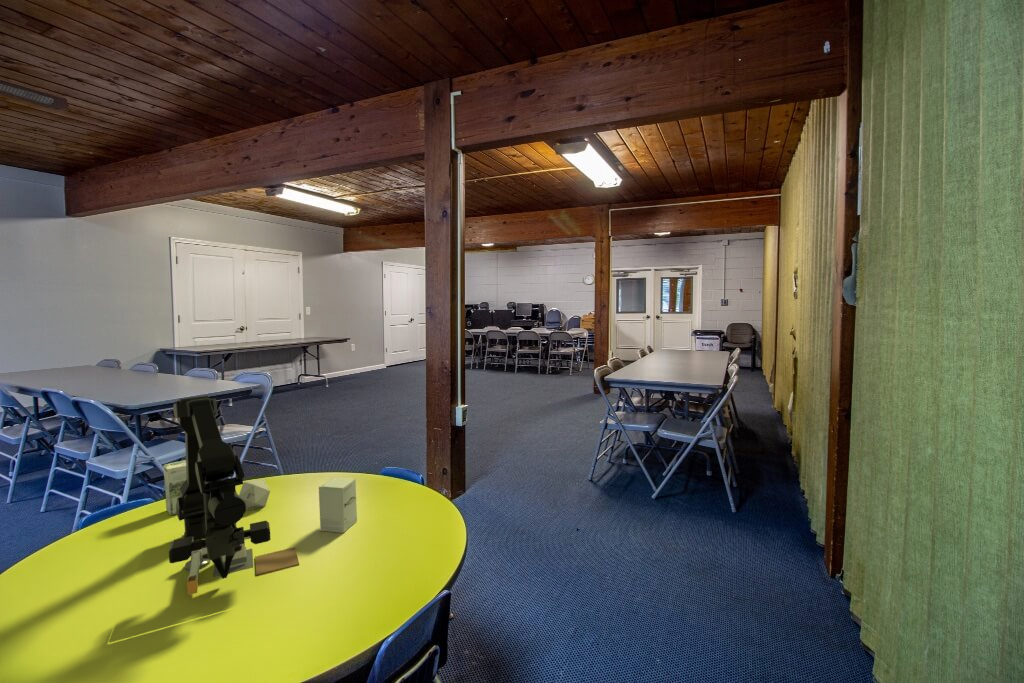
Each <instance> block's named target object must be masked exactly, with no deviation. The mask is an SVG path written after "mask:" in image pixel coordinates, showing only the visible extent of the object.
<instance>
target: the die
mask: <svg viewBox="0 0 1024 683" xmlns="http://www.w3.org/2000/svg"><path fill="white" fill-rule="evenodd" d="M270 493H271V490H270V487H269V486H268V485H267V482H266V480H265V479H264V478H258V479H253V480H252V479H251V480H245V481H243V484H242V485H241V489H240V491H239V493H238V495H239V496H240V497H241V499H242V500H243V501H244V503H245V505H246V511H251V510H255V509H261V508H265V507H266V505H267V502H268V499H269V497H270Z"/></svg>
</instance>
